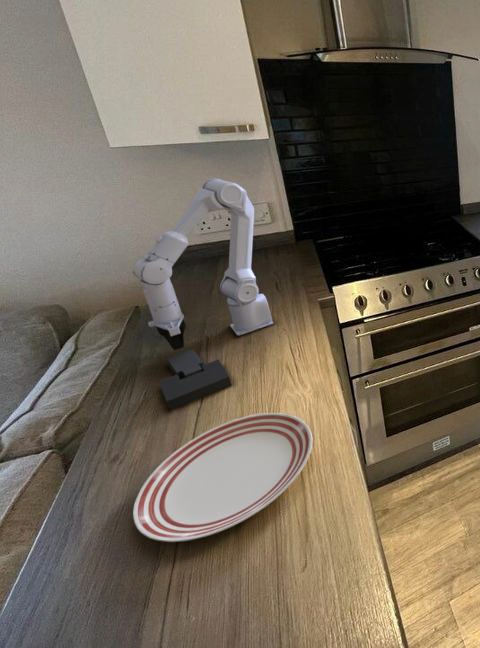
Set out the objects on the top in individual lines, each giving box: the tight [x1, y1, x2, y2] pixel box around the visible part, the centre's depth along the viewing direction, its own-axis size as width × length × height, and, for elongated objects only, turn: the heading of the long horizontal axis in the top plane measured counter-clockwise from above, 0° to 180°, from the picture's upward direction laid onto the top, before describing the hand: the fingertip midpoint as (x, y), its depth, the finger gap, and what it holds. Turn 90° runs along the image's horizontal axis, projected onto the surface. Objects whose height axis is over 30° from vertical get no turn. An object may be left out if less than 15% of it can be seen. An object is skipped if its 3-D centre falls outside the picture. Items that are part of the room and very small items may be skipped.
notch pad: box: [158, 359, 233, 411], centre depth 105 cm, size 12×10×2 cm
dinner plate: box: [132, 412, 314, 543], centre depth 81 cm, size 28×27×3 cm
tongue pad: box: [166, 348, 204, 380], centre depth 111 cm, size 5×12×3 cm, turn 51°
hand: (178, 347), depth 116 cm, fingers closed
